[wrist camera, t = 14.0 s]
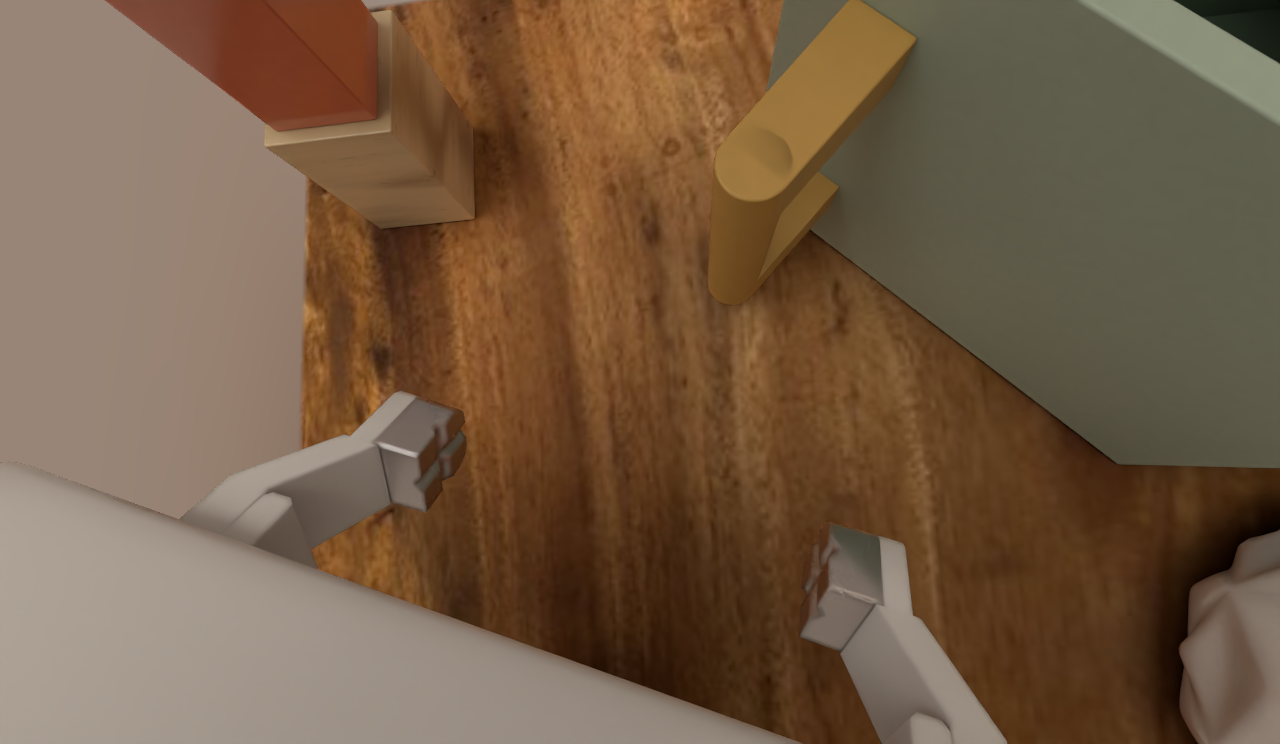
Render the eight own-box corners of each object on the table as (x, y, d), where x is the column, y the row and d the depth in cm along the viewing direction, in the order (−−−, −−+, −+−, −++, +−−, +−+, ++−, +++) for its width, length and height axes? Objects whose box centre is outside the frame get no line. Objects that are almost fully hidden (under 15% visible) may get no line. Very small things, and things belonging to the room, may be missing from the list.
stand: (381, 138, 30) (268, 26, 22) (473, 127, 30) (391, 8, 22) (380, 229, 29) (263, 146, 21) (475, 219, 29) (391, 131, 21)
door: (1027, 574, 24) (1634, 796, 8) (665, 276, 27) (622, 42, 12) (1132, 447, 24) (1908, 434, 9) (762, 168, 27) (843, -200, 12)
